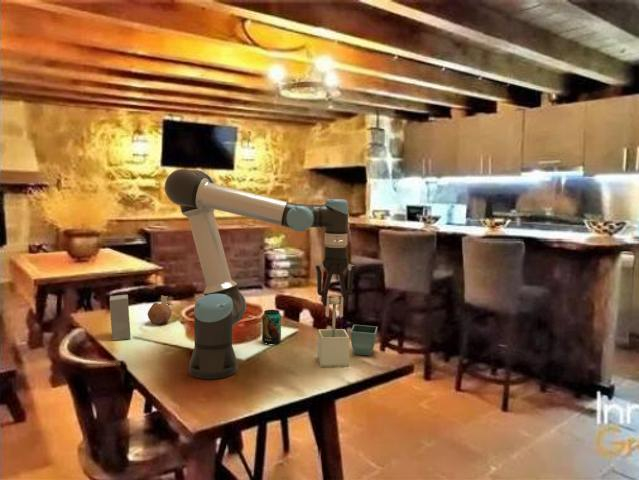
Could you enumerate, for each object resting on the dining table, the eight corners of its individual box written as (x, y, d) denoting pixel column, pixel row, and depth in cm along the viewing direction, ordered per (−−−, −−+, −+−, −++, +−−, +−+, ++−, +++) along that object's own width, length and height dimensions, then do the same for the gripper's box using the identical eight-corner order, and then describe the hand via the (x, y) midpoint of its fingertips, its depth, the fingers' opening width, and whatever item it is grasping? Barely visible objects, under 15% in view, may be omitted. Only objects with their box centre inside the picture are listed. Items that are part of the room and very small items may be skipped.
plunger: (324, 353, 157) (326, 298, 155) (322, 346, 164) (323, 293, 162) (344, 352, 158) (346, 298, 156) (341, 346, 165) (342, 293, 163)
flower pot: (374, 358, 166) (375, 333, 165) (349, 356, 168) (350, 331, 167) (376, 350, 175) (377, 326, 174) (352, 348, 176) (353, 324, 175)
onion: (151, 330, 202) (141, 308, 202) (171, 321, 207) (161, 300, 207) (157, 327, 194) (147, 305, 194) (178, 318, 200) (168, 296, 200)
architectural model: (168, 309, 226) (168, 294, 226) (174, 312, 221) (174, 297, 220) (161, 310, 224) (161, 295, 223) (167, 313, 219) (167, 297, 218)
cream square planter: (320, 367, 156) (321, 337, 155) (317, 357, 165) (318, 329, 164) (348, 366, 157) (349, 337, 156) (343, 357, 166) (344, 329, 165)
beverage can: (258, 344, 178) (259, 312, 177) (266, 338, 185) (267, 308, 184) (276, 346, 176) (276, 314, 175) (283, 340, 183) (284, 310, 181)
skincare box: (130, 339, 179) (129, 298, 178) (109, 341, 177) (108, 299, 175) (130, 333, 187) (129, 293, 186) (110, 334, 185) (109, 294, 183)
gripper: (311, 247, 152) (309, 319, 155) (363, 247, 155) (361, 318, 157) (308, 244, 160) (307, 313, 162) (358, 245, 162) (356, 312, 164)
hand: (334, 315), depth 160 cm, fingers closed on plunger, 4 cm apart
